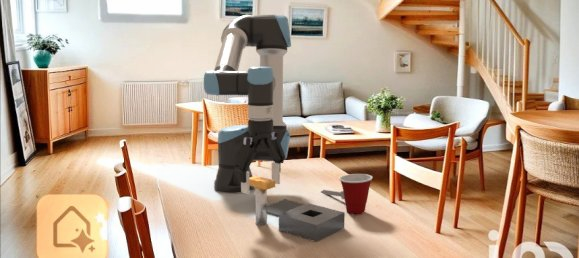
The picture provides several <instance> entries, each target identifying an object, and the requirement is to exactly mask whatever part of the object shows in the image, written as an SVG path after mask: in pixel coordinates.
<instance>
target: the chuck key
mask: <svg viewBox="0 0 579 258" xmlns="http://www.w3.org/2000/svg"><path fill="white" fill-rule="evenodd" d="M249 186H253V187H254V189H255V197H254V198H255V200H254V201H255V205H254V206H255V207H254V208H255V225H256V226H267V224H268V214H267V205H268V192H267V191H268V190H270V189H273V188H276V184H275V180H272V178H271V179H269V178H266V177H262V176H258V175H255V176H252V177H251V178H249Z"/></svg>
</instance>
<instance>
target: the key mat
mask: <svg viewBox="0 0 579 258" xmlns="http://www.w3.org/2000/svg"><path fill="white" fill-rule="evenodd" d="M304 204H305V203H300V202H298V201H293V200H291V199H286V198H284V199H281V200H279V201H275V202H273V203H270V204H267V215H270V216H271V215H272V216H275V217H278V218H279V214H281V213H283V212H286V211H289V210H291V209H294V208H296V207H299V206H301V205H304Z"/></svg>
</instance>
